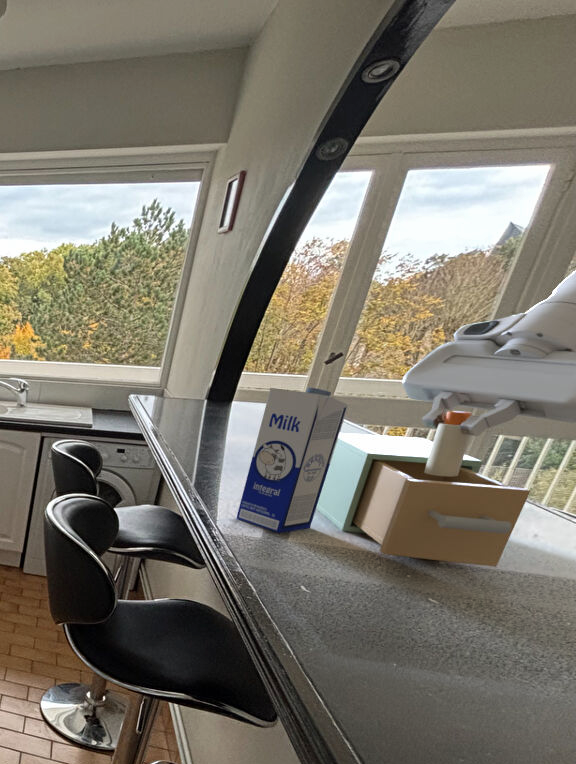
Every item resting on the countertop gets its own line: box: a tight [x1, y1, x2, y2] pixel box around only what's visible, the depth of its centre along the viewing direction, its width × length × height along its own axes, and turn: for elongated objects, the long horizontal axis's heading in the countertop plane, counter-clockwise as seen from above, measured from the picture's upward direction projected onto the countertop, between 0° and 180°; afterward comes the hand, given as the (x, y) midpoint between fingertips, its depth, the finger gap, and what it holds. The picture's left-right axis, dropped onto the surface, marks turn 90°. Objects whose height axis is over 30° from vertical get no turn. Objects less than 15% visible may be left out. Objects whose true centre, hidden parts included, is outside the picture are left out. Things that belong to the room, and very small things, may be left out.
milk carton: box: [236, 387, 350, 534], centre depth 85 cm, size 7×7×20 cm
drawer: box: [352, 459, 531, 568], centre depth 77 cm, size 19×11×10 cm, turn 160°
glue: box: [424, 410, 473, 477], centre depth 76 cm, size 3×3×8 cm
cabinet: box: [316, 432, 483, 534], centre depth 89 cm, size 16×13×12 cm
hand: (447, 428), depth 75 cm, fingers closed on glue, 3 cm apart
